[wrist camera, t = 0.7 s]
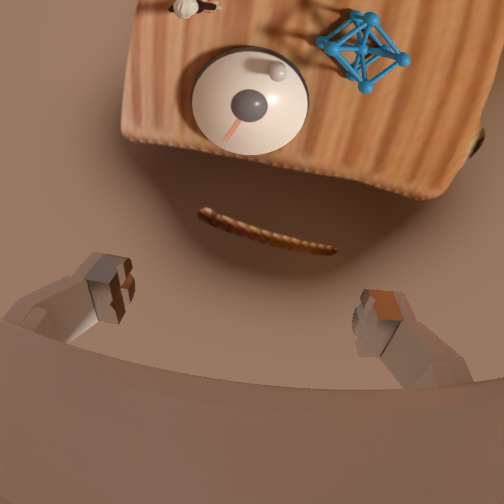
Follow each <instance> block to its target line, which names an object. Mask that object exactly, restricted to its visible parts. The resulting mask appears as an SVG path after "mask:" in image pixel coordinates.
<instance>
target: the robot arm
mask: <svg viewBox="0 0 504 504" xmlns="http://www.w3.org/2000/svg"><path fill="white" fill-rule="evenodd" d="M132 269H133V266H132V261H131V259H130V258H126V257H121V256H116V255H110V254H104V253H98V252H92V253H91V254H90V255H89V256H88V257H87V258H86V260H85V261H84V262H83V263H82V264H81V265H80V267H79V268H78V269H77V270H76V271H75V273H74V274H73V275H72V276H67V277H64V278H62V279H60V280H58V281H56V282H54V283H51V284H49V285H47V286H45V287H43V288H41V289H38V290H36V291H34V292H32V293H30V294H28V295H26V296H24V297H21V298H19V299H18V300H17V301H16V302H15V303H14V305H13V306H12V307H11V308H10V310H9V311H8V312H7V313H6V314H5V316H4V317H3V318H2V319H0V504H504V377H503V378H497V379H491V380H486V381H479V382H474V381H473V378H472V376H471V374H470V371H469V369H468V367H467V364H466V362H465V360H464V358H463V357H462V356H460V355H459V354H458V353H457V352H456V351H455V350H453V349H452V348H451V347H450V346H449V345H447V344H446V343H445V342H444V341H443V340H442V339H440V338H439V337H438V336H437V335H436V334H435V333H433V332H432V331H431V330H430V329H429V328H427V327H426V326H425V325H424V324H422V323H421V322H417V320H416V318H415V315H414V313H413V311H412V309H411V307H410V304H409V302H408V300H407V298H406V296H405V294H404V293H403V292H399V291H382V290H371V289H364V290H363V292H362V294H361V296H360V300H361V304H360V305H358V306H357V307H356V308H355V311H354V314H353V319H352V329H353V333H354V334H355V335H356V336H357V337H358V338H357V340H356V342H355V343H356V347H357V352H358V356H359V357H376V358H380V360H381V361H382V362H383V363H384V365H385V366H386V367H387V368H388V369H389V371H390V372H391V373H392V374H393V376H394V377H395V378H396V380H397V381H398V382H399V383H400V385H401V386H402V387H403V388H404V389H389V390H388V389H387V390H332V389H331V390H330V389H310V388H293V387H281V386H269V385H260V384H250V383H243V382H234V381H228V380H221V379H214V378H208V377H202V376H195V375H190V374H184V373H179V372H174V371H169V370H164V369H159V368H155V367H150V366H146V365H142V364H137V363H133V362H129V361H125V360H121V359H117V358H113V357H110V356H106V355H102V354H99V353H96V352H92V351H89V350H85V349H82V348H79V347H76V346H73V345H69V344H68V343H69V342H71V341H72V340H73V339H75V338H76V337H77V336H79V335H80V334H81V333H83V332H84V331H86V330H87V329H88V328H90V327H91V326H92V325H94V324H95V323H97V322H98V320H99V321H104V322H108V323H114V324H119V323H120V321H121V320H122V318H123V316H124V314H125V312H126V311H125V306H126V305H128V304H130V303H131V301H132V299H133V297H134V293H135V280H134V277H133V276H132V275H131V274H130V272H131V270H132Z"/></svg>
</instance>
